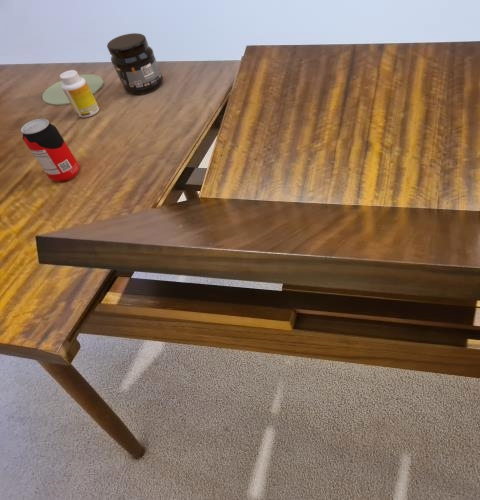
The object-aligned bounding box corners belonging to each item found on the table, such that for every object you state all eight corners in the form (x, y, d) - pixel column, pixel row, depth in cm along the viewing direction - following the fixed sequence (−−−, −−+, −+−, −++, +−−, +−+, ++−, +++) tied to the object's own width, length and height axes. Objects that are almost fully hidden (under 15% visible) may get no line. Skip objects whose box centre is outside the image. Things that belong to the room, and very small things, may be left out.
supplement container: (132, 77, 126) (113, 33, 117) (169, 75, 125) (152, 30, 116) (119, 97, 119) (97, 51, 110) (157, 95, 118) (139, 48, 109)
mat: (30, 101, 122) (29, 99, 122) (72, 73, 132) (72, 71, 132) (74, 108, 117) (73, 107, 117) (115, 78, 127) (115, 77, 126)
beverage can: (87, 172, 97) (57, 122, 89) (60, 188, 94) (26, 138, 86) (72, 162, 100) (42, 113, 92) (45, 177, 97) (11, 128, 89)
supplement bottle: (104, 108, 116) (85, 69, 108) (89, 120, 112) (67, 80, 105) (88, 105, 118) (68, 67, 110) (72, 116, 114) (50, 78, 107)
